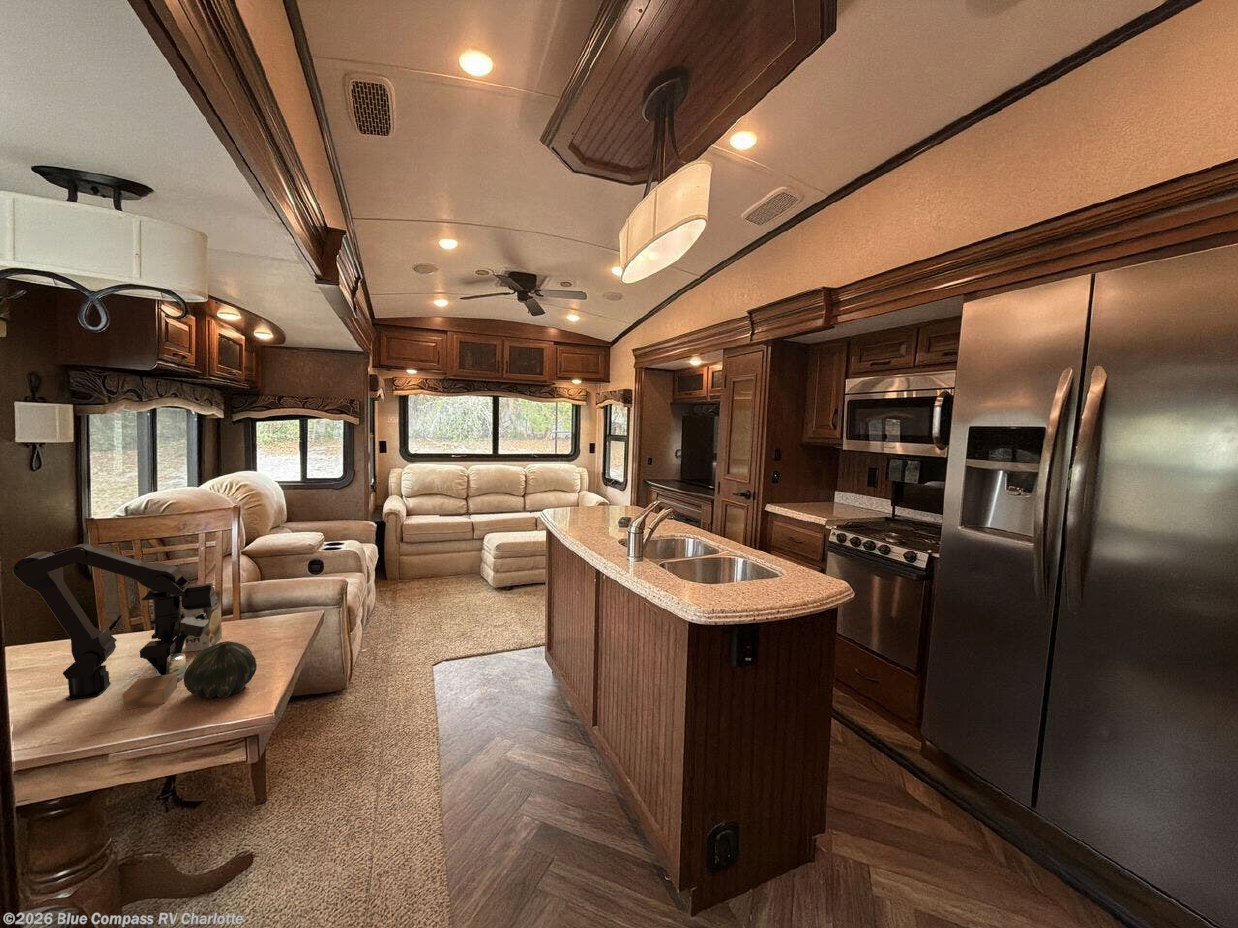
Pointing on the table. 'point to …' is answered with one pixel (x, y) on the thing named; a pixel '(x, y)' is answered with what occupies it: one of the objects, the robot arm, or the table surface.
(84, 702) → the table surface
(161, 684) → the block
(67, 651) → the table surface
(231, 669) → the squash
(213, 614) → the coffee box
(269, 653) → the table surface
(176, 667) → the tin
